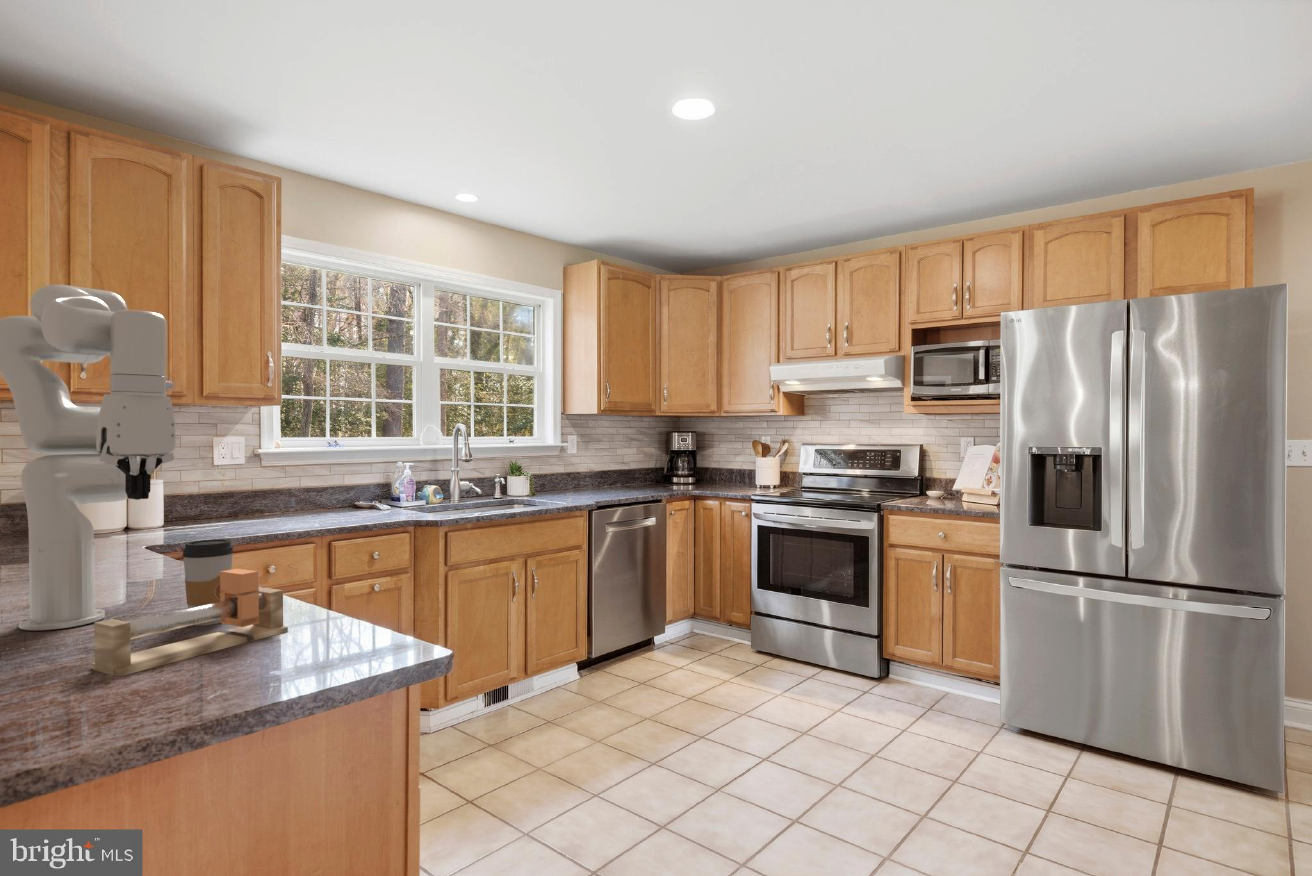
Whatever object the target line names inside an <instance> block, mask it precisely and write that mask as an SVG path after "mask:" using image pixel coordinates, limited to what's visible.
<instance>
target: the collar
mask: <svg viewBox="0 0 1312 876" xmlns="http://www.w3.org/2000/svg"><path fill="white" fill-rule="evenodd" d="M259 589H260V588H259V571H258V570H249V569H243V568H234V569H233V568H232V570H226V571H220V602H221V601H226V600H229V599H231V598H235V597H238V616H235V617H232V616H230V617H225V618H221V623H220V624H223V625H228V626H233V627H245V626H249V625H253V624H257V623H259Z"/></svg>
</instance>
